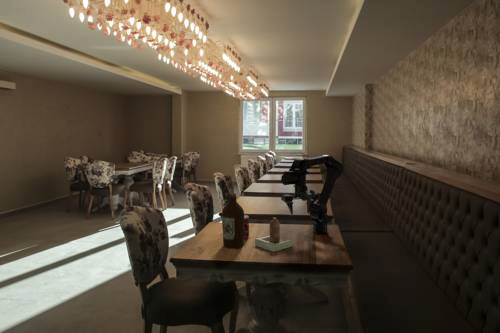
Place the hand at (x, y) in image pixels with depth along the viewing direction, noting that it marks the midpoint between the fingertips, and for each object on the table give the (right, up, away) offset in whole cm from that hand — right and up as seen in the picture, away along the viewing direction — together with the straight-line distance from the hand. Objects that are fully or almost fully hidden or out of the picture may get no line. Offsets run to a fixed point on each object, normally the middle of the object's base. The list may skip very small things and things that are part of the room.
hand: (300, 214), depth 197 cm
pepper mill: (-14, -13, -12) cm, 23 cm away
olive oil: (-33, -14, -12) cm, 38 cm away
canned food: (-30, -12, +2) cm, 32 cm away
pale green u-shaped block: (-14, -13, -13) cm, 23 cm away
